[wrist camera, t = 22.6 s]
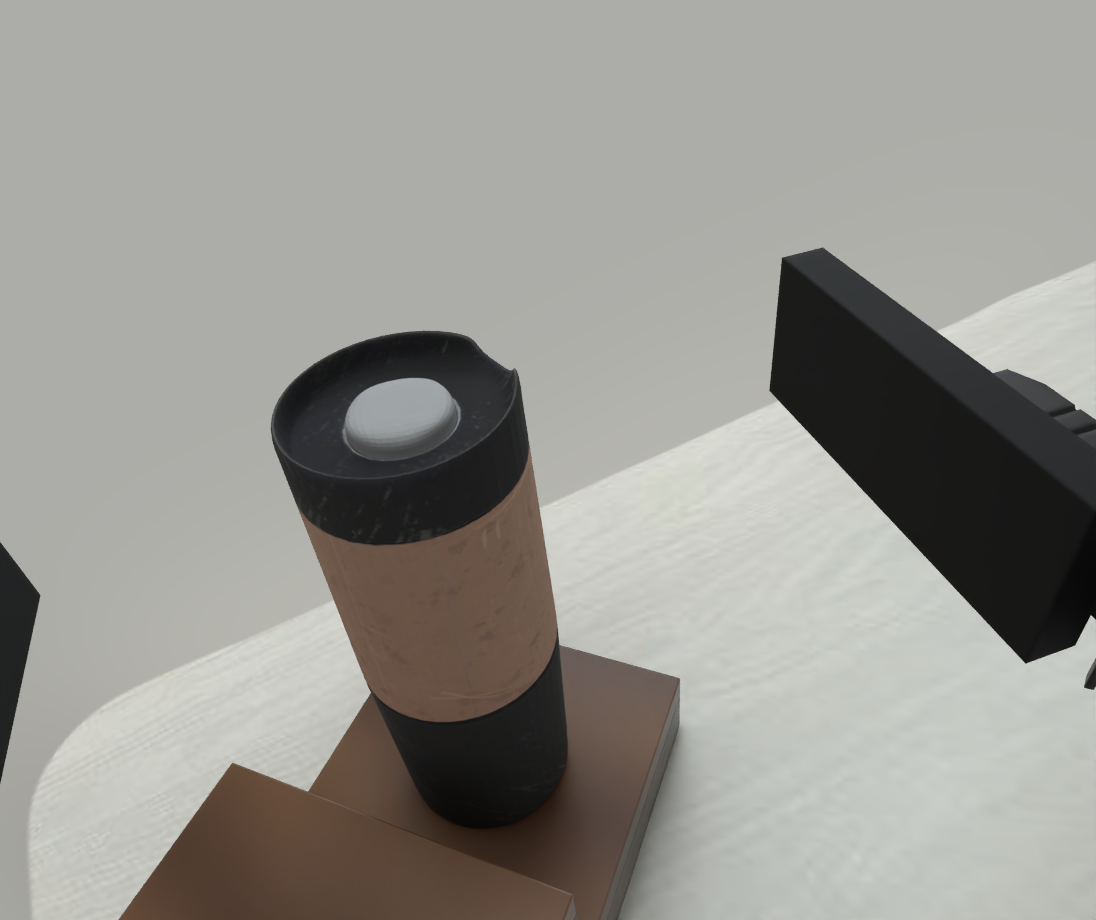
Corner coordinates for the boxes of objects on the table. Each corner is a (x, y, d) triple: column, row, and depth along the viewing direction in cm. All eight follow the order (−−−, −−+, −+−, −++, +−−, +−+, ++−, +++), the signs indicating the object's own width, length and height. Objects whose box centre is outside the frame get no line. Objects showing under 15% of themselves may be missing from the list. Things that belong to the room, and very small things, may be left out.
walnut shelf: (438, 652, 47) (401, 528, 40) (679, 723, 42) (681, 596, 36) (172, 1101, 32) (46, 1017, 25) (498, 1291, 27) (445, 1249, 21)
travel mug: (386, 829, 35) (221, 481, 22) (428, 676, 41) (315, 329, 28) (564, 843, 34) (499, 485, 21) (582, 684, 40) (539, 325, 27)
